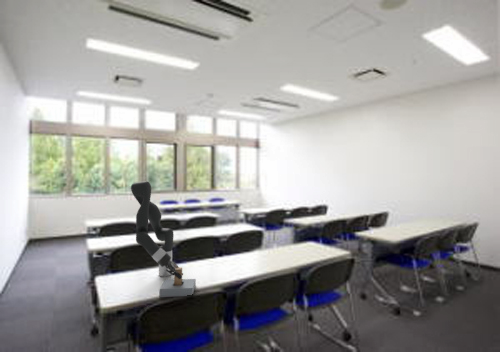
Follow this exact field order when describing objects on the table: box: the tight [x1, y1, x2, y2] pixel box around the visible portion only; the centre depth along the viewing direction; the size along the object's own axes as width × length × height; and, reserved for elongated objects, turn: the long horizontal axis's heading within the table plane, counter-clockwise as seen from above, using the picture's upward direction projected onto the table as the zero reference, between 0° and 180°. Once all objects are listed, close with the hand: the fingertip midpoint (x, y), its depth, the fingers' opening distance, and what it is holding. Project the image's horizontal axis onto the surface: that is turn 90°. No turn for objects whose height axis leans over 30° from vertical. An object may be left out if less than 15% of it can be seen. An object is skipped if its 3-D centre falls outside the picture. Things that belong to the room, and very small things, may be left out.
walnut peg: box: [173, 267, 183, 286], centre depth 164 cm, size 4×4×10 cm
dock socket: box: [158, 278, 197, 298], centre depth 164 cm, size 15×19×4 cm
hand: (181, 276), depth 164 cm, fingers closed on walnut peg, 4 cm apart
